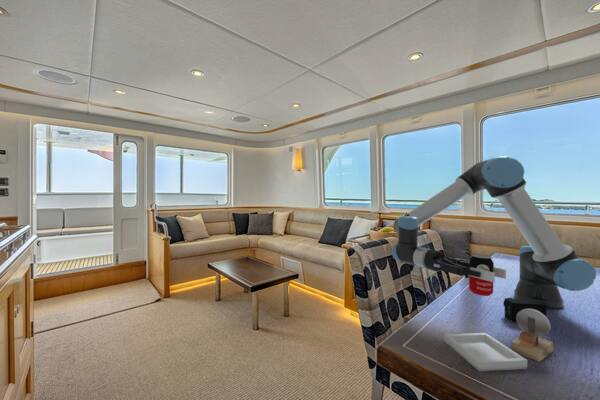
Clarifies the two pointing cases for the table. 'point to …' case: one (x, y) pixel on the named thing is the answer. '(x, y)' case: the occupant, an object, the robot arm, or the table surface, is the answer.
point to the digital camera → (521, 307)
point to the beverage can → (478, 284)
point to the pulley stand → (532, 335)
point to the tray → (485, 352)
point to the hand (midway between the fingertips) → (499, 275)
